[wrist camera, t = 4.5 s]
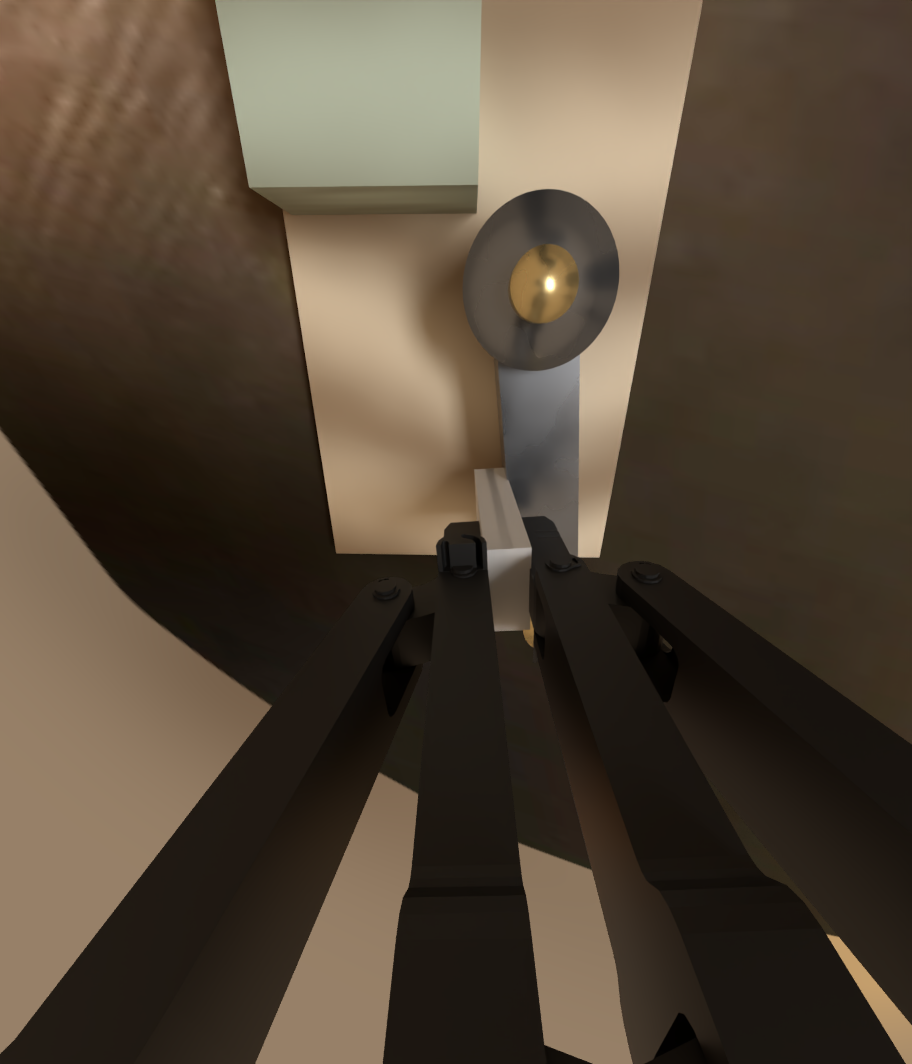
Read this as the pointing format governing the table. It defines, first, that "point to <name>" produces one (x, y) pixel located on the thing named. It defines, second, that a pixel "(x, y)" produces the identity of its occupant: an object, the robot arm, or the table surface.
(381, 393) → the board
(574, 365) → the latch bar
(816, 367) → the table surface
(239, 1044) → the robot arm
